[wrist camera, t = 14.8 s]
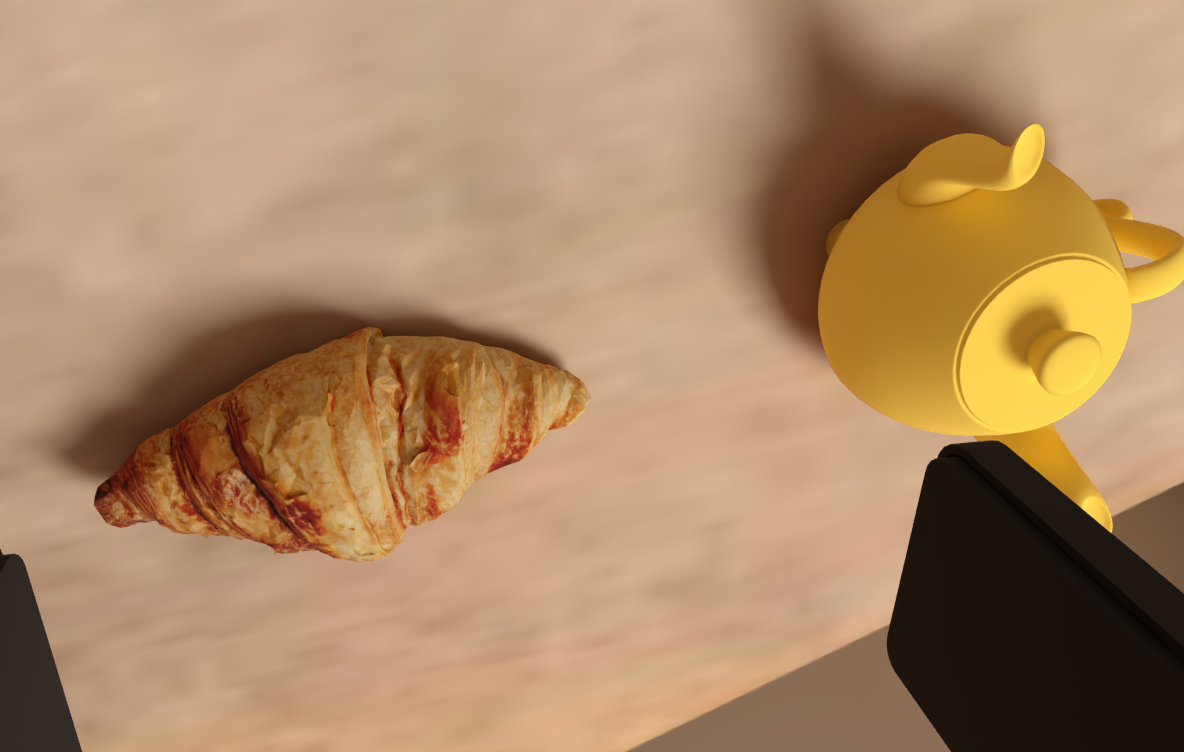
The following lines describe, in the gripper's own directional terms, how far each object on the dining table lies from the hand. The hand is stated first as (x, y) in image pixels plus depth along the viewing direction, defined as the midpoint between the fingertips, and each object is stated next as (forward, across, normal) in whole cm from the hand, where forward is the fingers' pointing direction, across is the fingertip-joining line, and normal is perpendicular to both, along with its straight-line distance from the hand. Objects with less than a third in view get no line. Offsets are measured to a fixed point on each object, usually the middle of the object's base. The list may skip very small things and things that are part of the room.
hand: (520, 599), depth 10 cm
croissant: (+31, +3, +15) cm, 34 cm away
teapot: (+31, -25, +8) cm, 40 cm away
